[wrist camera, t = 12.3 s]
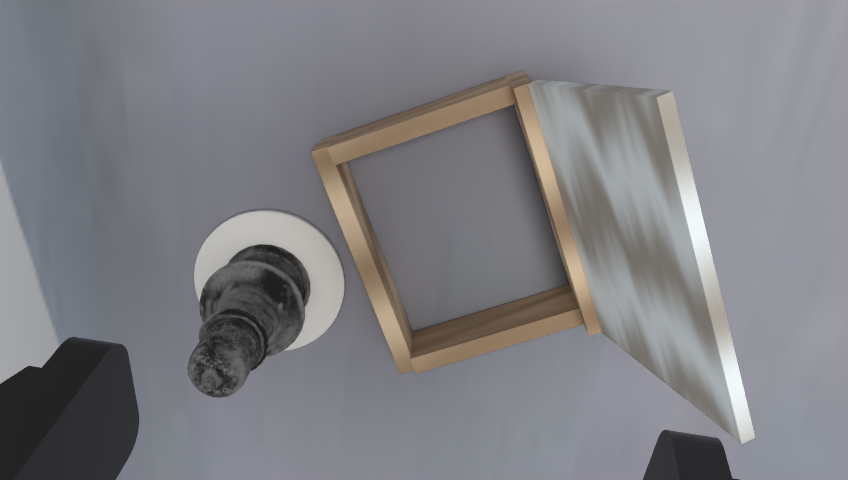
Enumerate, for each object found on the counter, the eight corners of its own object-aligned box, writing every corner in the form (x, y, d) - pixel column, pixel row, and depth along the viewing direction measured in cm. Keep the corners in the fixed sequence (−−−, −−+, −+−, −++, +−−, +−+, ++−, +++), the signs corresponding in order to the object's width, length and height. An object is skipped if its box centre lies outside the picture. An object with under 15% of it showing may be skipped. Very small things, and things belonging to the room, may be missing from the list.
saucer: (172, 236, 44) (168, 239, 43) (311, 189, 43) (310, 192, 42) (233, 363, 47) (231, 368, 46) (366, 322, 46) (365, 327, 45)
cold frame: (319, 140, 42) (244, 234, 26) (583, 49, 40) (673, 91, 24) (403, 350, 46) (381, 540, 30) (645, 277, 44) (756, 439, 28)
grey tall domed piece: (214, 321, 45) (137, 434, 34) (221, 231, 43) (142, 319, 32) (309, 337, 45) (264, 454, 34) (321, 248, 43) (277, 341, 32)
